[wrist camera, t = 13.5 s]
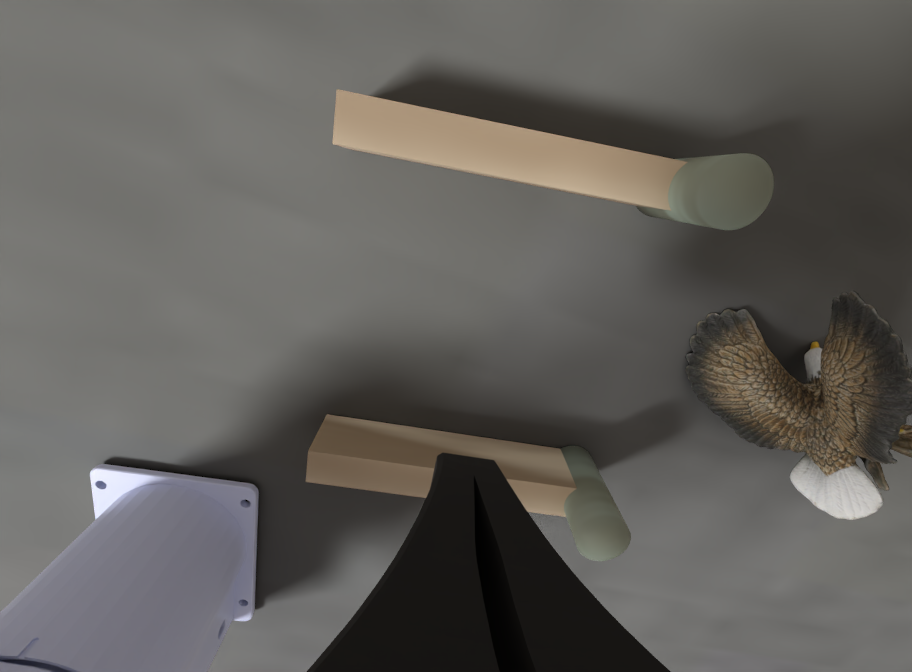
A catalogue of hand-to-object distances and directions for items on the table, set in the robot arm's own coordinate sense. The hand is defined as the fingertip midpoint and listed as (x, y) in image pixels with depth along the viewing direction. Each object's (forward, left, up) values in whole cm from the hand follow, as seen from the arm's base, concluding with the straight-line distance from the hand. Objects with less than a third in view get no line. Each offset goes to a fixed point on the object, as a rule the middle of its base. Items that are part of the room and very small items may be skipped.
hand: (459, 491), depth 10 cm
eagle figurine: (+1, -15, -11) cm, 19 cm away
